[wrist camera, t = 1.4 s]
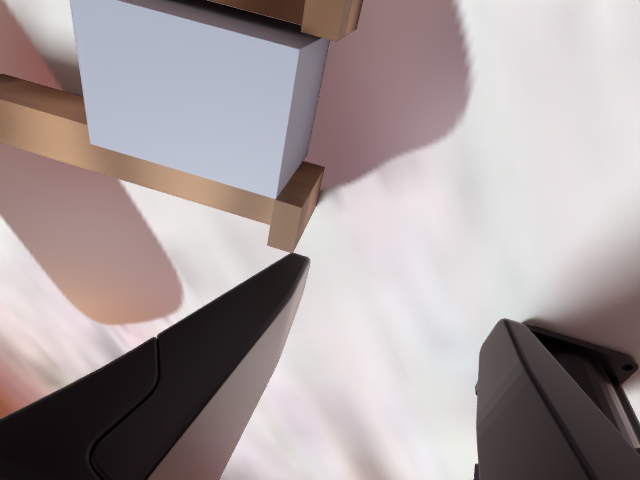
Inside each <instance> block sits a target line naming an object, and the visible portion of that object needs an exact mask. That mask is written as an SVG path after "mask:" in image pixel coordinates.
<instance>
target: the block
mask: <svg viewBox="0 0 640 480" xmlns="http://www.w3.org/2000/svg"><path fill="white" fill-rule="evenodd" d="M70 6H71V13H72V20H73V27H74V34H75V41H76V48H77V55H78V62H79V69H80V76H81V83H82V90H83V96H84V103H85V110H86V117H87V124H88V131H89V138H90V144H93V145H96V146H99V147H103V148H106V149H109V150H113V151H116V152H119V153H123V154H126V155H129V156H133V157H136V158H139V159H143V160H146V161H149V162H153V163H156V164H159V165H163V166H166V167H169V168H173V169H176V170H180V171H183V172H186V173H190V174H193V175H196V176H200V177H203V178H206V179H210V180H213V181H216V182H220V183H223V184H226V185H230V186H233V187H236V188H240V189H243V190H246V191H250V192H253V193H256V194H260V195H263V196H266V197H270V198H273V199H276V198H277V197H278V195H279V194H280V193H281V191H282V190H283V188H284V187H285V185H286V184H287V183H288V181H289V180H290V178H291V177H292V175H293V174H294V173H295V171H296V170H297V168H298V167H299V165H300V164H301V163H302V161H303V160H304V158H305V157H306V155H307V153H308V148H309V142H310V137H311V133H312V128H313V123H314V117H315V112H316V107H317V102H318V97H319V92H320V87H321V82H322V77H323V71H324V67H325V62H326V57H327V52H328V47H329V41H330V40H329V39H325V38H321V37H317V36H314V35H310V34H306V33H302V32H301V27H302V26H301V25H298V24H294V23H290V22H286V21H283V20H278V19H275V18H271V17H267V16H264V15H260V14H256V13H252V12H249V11H245V10H241V9H237V8H233V7H230V6H226V5H222V4H218V3H215V2H211V1H207V0H70Z"/></svg>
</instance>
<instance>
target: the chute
mask: <svg viewBox="0 0 640 480" xmlns="http://www.w3.org/2000/svg"><path fill="white" fill-rule="evenodd" d="M210 1H215V2H218V3H222V4H225V5H230V6H233V7H237V8H241V9H244V10H248V11H252V12H256V13H259V14H263V15H267V16H271V17H274V18H278V19H282V20H286V21H289V22H293V23H297V24H301V25H302V27H301V32H302V33H306V34H310V35H314V36H317V37H321V38H325V39H329V40H332V41H338V40H340V39H341V38H343V37H345V36H346V35H348V34H349V33H351V32H352V31H354V30H356V29H357V25H358V20H359V16H360V12H361V7H362V3H363V0H210ZM0 143H2V144H6V145H9V146H12V147H15V148H19V149H22V150H25V151H29V152H32V153H35V154H38V155H42V156H45V157H49V158H52V159H55V160H59V161H62V162H65V163H68V164H71V165H75V166H78V167H82V168H85V169H88V170H91V171H94V172H98V173H101V174H104V175H108V176H111V177H114V178H117V179H121V180H124V181H127V182H131V183H134V184H137V185H140V186H144V187H147V188H150V189H154V190H157V191H160V192H163V193H167V194H170V195H173V196H177V197H180V198H183V199H186V200H190V201H193V202H196V203H200V204H203V205H206V206H209V207H213V208H216V209H219V210H223V211H226V212H229V213H232V214H236V215H239V216H242V217H246V218H249V219H252V220H256V221H259V222H262V223H265V224H269V225H270V231H269V237H268V244H267V246H271V247H274V248H277V249H280V250H284V251H287V252H290V253H293V252H294V250H295V248H296V246H297V244H298V242H299V240H300V238H301V236H302V234H303V232H304V230H305V228H306V226H307V224H308V222H309V219H310V217H311V215H312V213H313V211H314V209H315V207H316V203H317V199H318V194H319V190H320V186H321V181H322V177H323V173H324V167H322V166H319V165H315V164H312V163H308V162H304V161H302V163H301V164H300V165H299V167H298V168H297V170H296V171H295V173H294V174H293V175H292V177H291V178H290V180H289V181H288V183H287V184H286V185H285V187H284V188H283V190H282V191H281V193H280V194H279V195H278V197H277V198H276V199H273V198H270V197H266V196H263V195H260V194H256V193H253V192H250V191H246V190H243V189H240V188H236V187H233V186H230V185H226V184H223V183H220V182H216V181H213V180H210V179H206V178H203V177H200V176H196V175H193V174H190V173H186V172H183V171H180V170H176V169H173V168H169V167H166V166H163V165H159V164H156V163H153V162H149V161H146V160H143V159H139V158H136V157H133V156H129V155H126V154H123V153H119V152H116V151H113V150H109V149H106V148H103V147H99V146H96V145H93V144H90V138H89V131H88V124H87V117H86V110H85V103H84V97H81V96H78V95H74V94H71V93H67V92H64V91H60V90H57V89H54V88H50V87H47V86H43V85H40V84H36V83H33V82H29V81H26V80H22V79H19V78H16V77H12V76H9V75H5V74H0Z"/></svg>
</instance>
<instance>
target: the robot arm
mask: <svg viewBox="0 0 640 480" xmlns="http://www.w3.org/2000/svg"><path fill="white" fill-rule="evenodd" d="M309 267H310V259H309V258H308V257H305V256H302V255H299V254H296V253H290V254H288V255H287V256H285V257H283V258H282V259H280V260H279V261H277V262H275V263H274V264H272V265H270V266H269V267H267V268H265V269H264V270H262V271H261V272H259V273H257V274H256V275H254V276H252V277H251V278H249V279H247V280H246V281H244V282H243V283H241V284H239V285H238V286H236V287H234V288H233V289H231V290H229V291H228V292H226V293H225V294H223V295H221V296H220V297H218V298H216V299H215V300H213V301H212V302H210V303H208V304H207V305H205V306H203V307H202V308H200V309H198V310H197V311H195V312H194V313H192V314H190V315H189V316H187V317H185V318H184V319H182V320H180V321H179V322H177V323H176V324H174V325H172V326H171V327H169V328H167V329H166V330H164V331H163V332H161V333H159V334H158V335H157V338H156V337H152V338H151V339H149V340H147V341H146V342H144V343H143V344H141V345H139V346H138V347H136V348H134V349H133V350H131V351H129V352H127V353H126V354H124V355H122V356H121V357H119V358H117V359H115V360H114V361H112V362H110V363H108V364H107V365H105V366H103V367H102V368H100V369H98V370H96V371H94V372H92V373H90V374H88V375H86V376H84V377H82V378H80V379H78V380H77V381H75V382H73V383H71V384H69V385H67V386H65V387H63V388H61V389H59V390H57V391H55V392H53V393H51V394H49V395H47V396H45V397H43V398H41V399H39V400H37V401H35V402H33V403H31V404H29V405H27V406H25V407H23V408H21V409H19V410H17V411H15V412H13V413H10V414H8V415H6V416H4V417H2V418H0V480H219V479H220V477H221V475H222V473H223V471H224V469H225V467H226V465H227V463H228V461H229V459H230V457H231V455H232V453H233V451H234V449H235V447H236V445H237V443H238V441H239V439H240V437H241V435H242V433H243V431H244V429H245V427H246V425H247V423H248V421H249V419H250V417H251V415H252V413H253V412H254V410H255V408H256V406H257V404H258V402H259V400H260V398H261V396H262V394H263V392H264V390H265V388H266V386H267V384H268V382H269V380H270V378H271V376H272V374H273V372H274V370H275V368H276V365H277V363H278V361H279V359H280V356H281V353H282V351H283V348H284V345H285V342H286V340H287V337H288V334H289V331H290V328H291V326H292V323H293V320H294V317H295V314H296V312H297V309H298V306H299V303H300V300H301V297H302V294H303V291H304V287H305V283H306V279H307V275H308V271H309ZM637 369H638V364H637V362H636V360H635V359H634V358H633V357H631V356H628V355H625V354H622V353H619V352H615V351H612V350H609V349H606V348H602V347H599V346H596V345H593V344H589V343H586V342H583V341H580V340H576V339H573V338H570V337H567V336H563V335H560V334H557V333H554V332H550V331H547V330H544V329H541V328H537V327H534V326H531V325H524V324H522V323H519V322H516V321H513V320H510V319H506V318H504V319H501V320H500V321H498V323H497V324H496V325H495V327H494V328H493V330H492V331H491V333H490V334H489V336H488V337H487V339H486V340H485V342H484V343H483V345H482V347H481V350H480V354H479V373H478V383H477V384H476V386H475V391H476V395H477V418H476V432H477V449H478V464H475V472H474V479H473V480H640V423H639V421H638V419H637V417H636V415H635V413H634V411H633V408H632V406H631V404H630V402H629V400H628V398H627V396H626V394H625V392H624V390H623V388H622V386H621V384H623V383H624V382H625V381H626V380H627V379H628V378H629V377H630V376H631V375H632V374H633V373H635V372H636V371H637Z"/></svg>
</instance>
